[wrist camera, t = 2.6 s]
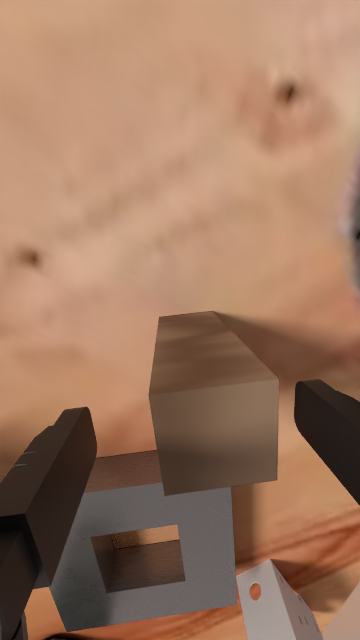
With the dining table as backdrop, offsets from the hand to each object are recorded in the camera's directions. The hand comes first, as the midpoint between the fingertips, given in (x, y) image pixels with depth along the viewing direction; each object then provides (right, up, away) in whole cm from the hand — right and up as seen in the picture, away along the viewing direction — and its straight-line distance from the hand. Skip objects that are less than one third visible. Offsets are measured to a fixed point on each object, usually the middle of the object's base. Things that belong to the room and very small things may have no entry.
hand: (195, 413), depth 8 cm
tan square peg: (0, +2, +8) cm, 9 cm away
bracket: (+10, -28, +17) cm, 34 cm away
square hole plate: (-4, -16, +13) cm, 21 cm away
